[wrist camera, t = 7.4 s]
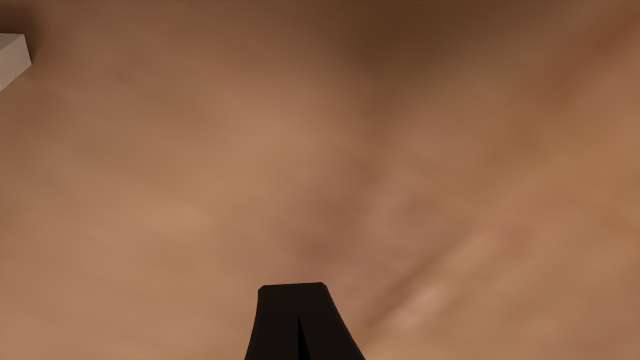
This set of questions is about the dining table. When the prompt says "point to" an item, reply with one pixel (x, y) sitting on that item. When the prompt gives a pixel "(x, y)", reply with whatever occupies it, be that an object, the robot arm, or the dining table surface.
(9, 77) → the dock
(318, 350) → the robot arm
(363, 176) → the dining table surface
